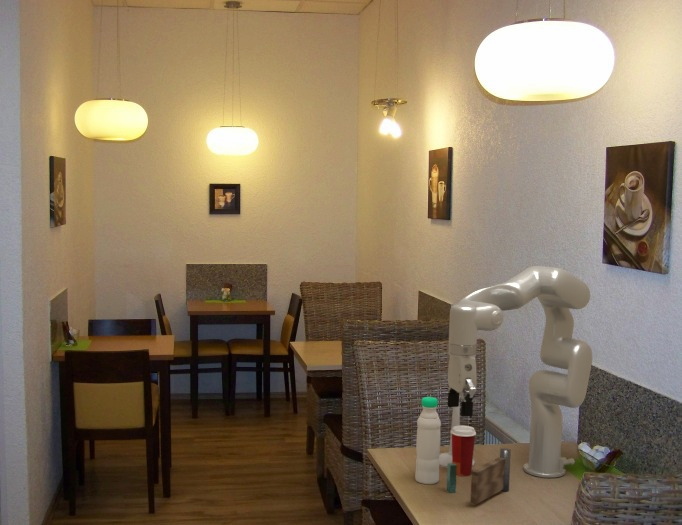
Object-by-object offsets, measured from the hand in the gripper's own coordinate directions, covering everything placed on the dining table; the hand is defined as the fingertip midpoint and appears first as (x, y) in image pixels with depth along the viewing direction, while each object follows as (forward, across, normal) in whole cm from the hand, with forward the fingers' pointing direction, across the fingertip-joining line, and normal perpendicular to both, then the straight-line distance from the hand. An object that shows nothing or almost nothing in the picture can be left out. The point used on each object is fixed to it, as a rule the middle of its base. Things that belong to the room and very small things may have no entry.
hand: (459, 411), depth 225 cm
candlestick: (+26, +32, -12) cm, 42 cm away
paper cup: (+26, +22, -10) cm, 35 cm away
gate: (+24, 0, -9) cm, 26 cm away
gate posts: (+25, +6, -10) cm, 28 cm away
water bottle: (+26, +17, +2) cm, 31 cm away
